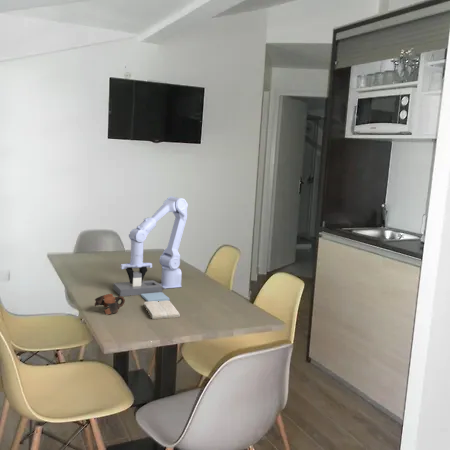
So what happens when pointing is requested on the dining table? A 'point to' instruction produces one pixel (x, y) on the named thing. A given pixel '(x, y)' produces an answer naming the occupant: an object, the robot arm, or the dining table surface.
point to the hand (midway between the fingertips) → (135, 283)
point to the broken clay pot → (110, 303)
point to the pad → (155, 297)
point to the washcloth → (161, 309)
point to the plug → (136, 279)
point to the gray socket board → (137, 288)
